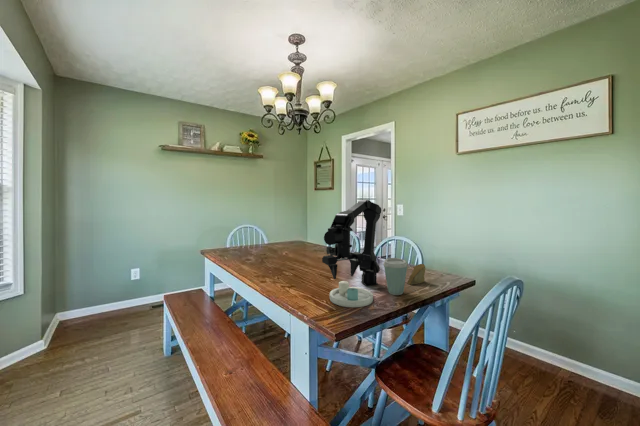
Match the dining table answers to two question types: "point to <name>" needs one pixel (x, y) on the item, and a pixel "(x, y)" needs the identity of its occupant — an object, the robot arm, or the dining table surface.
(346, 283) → the cream bead
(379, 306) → the dining table surface
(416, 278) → the brown bread wedge
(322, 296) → the dining table surface
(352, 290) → the teal bead
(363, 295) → the groove dish
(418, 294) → the dining table surface
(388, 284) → the disposable coffee cup
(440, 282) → the dining table surface
